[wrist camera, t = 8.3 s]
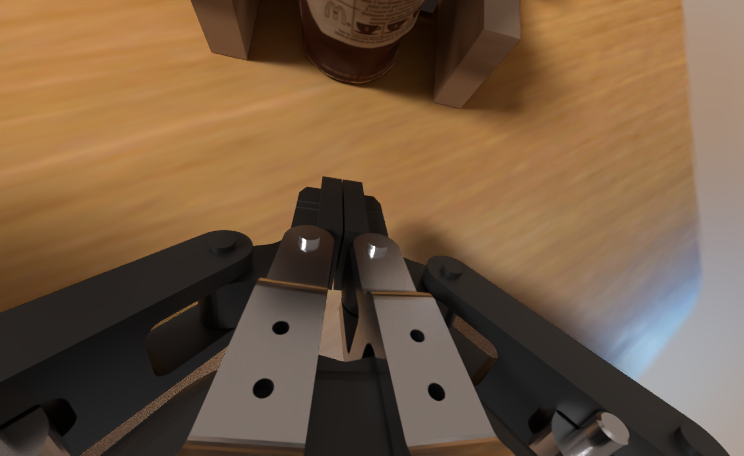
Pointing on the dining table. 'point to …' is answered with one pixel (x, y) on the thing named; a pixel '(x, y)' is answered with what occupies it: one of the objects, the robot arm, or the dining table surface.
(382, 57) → the coffee cup
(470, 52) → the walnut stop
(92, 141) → the dining table surface
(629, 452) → the robot arm
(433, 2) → the pad
